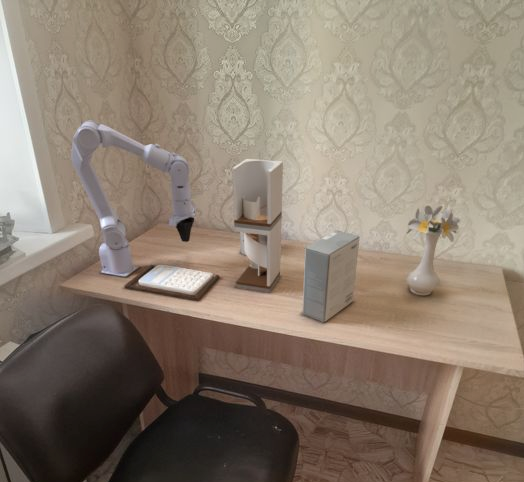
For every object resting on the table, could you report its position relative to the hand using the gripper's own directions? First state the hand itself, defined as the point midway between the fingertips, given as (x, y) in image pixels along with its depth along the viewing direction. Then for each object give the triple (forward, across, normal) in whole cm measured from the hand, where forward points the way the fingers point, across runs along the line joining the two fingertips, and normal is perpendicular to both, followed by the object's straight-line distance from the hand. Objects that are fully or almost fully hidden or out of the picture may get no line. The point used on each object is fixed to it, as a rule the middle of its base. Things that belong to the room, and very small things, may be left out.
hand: (185, 240), depth 150 cm
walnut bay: (+9, -13, -2) cm, 16 cm away
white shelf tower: (+9, -4, -26) cm, 28 cm away
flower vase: (+9, +8, -74) cm, 75 cm away
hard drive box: (+9, -12, -51) cm, 53 cm away
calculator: (+9, -12, -2) cm, 15 cm away
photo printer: (+9, +20, -15) cm, 26 cm away
